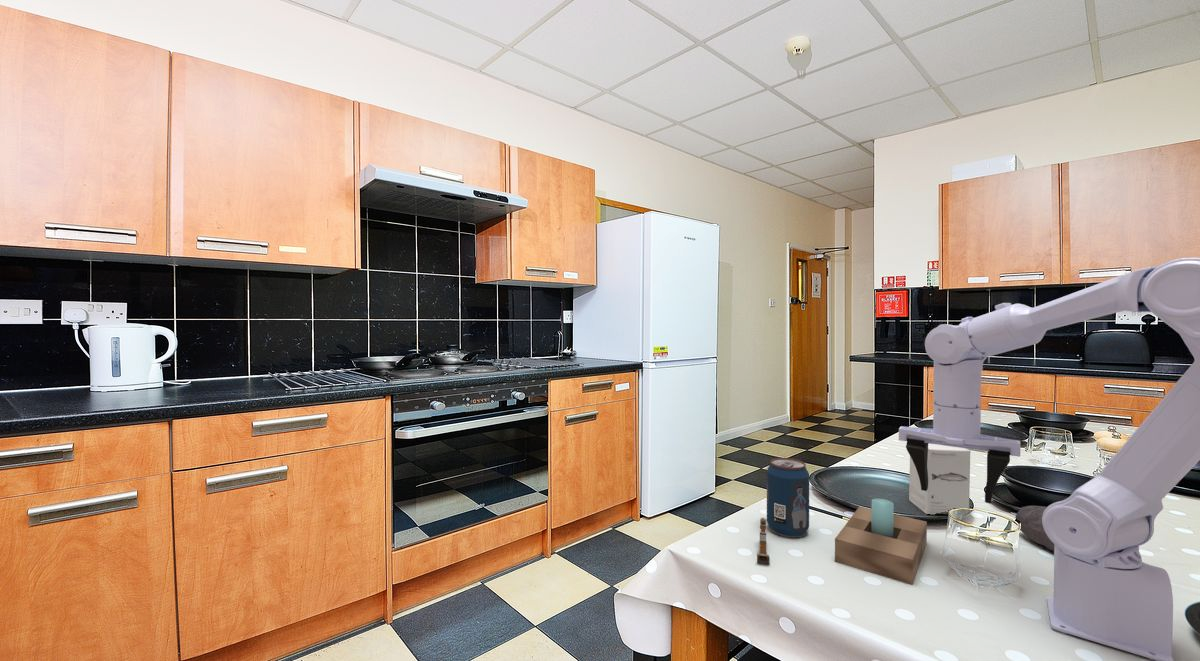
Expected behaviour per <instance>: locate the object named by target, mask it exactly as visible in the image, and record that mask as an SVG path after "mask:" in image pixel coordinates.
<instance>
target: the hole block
mask: <svg viewBox="0 0 1200 661" xmlns="http://www.w3.org/2000/svg"><path fill="white" fill-rule="evenodd" d="M871 521H872V508H868V507H863V506H858V507H857V508H856V510H855V511H854V513H853V514H852V515H851V516H850V518H849V520H847V522H846V524H845V525H844V526H843V528H842V529H841V530H840V531H839V533H838V534H837V536H836V537H835V538H834V562H836V563H839V564H843V565H845V566H849V567H852V568H853V567H854V568H857V569H859V570H862V571H866V572H870V573H872V574H876V575H879V576H881V577H882V576H883V577H886V578H889V579H893V580H896V581H899V582H903V583H906V584H910V585H913V584H914V581H915V578H916V575H917V572H918V569H919V566H920V563H921V561H922V558H923V554H924V551H925V549H926V546H927V544H928V542H927V540H928V539H927V538H928V535H927V534H928V533H927V532H928V530H927V528H928V521H925V520H921V519H918V518H917V519H916V518H913V517H908V516H904V515H903V516H902V515H898V514H896V513H895V514H894V525H893V538H890V537H886V536H882V535H879V534H875V533H871Z"/></svg>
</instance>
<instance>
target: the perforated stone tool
mask: <svg viewBox="0 0 1200 661" xmlns="http://www.w3.org/2000/svg"><path fill="white" fill-rule="evenodd" d="M1047 507H1048V506H1041V505H1026V506H1022V507H1020V508H1019V509H1018V511H1017V513H1016V515H1015V519H1017V520H1019V521H1020V523H1021V530H1020V531H1021V532H1022V534H1024V535H1025V536H1026V537H1027V538H1028V539H1030V540H1031V541H1032V542H1034V543H1036V544H1038V545H1041V546H1044V547H1045V548H1046V549H1047V550H1048V551H1050V552H1052V553H1054V545H1055V544H1054V543H1053V542H1052V541H1051V540H1050V539H1049V537H1048V536H1047V534H1046V532H1045V530H1044V528H1043V524H1042V516H1043V513H1044V510H1045V509H1046V508H1047Z"/></svg>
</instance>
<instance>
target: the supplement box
mask: <svg viewBox="0 0 1200 661" xmlns="http://www.w3.org/2000/svg"><path fill="white" fill-rule="evenodd" d="M927 469H928V489H927V491H923V490H921V484H920V479H919V476H918V473H917V470H916V467H915V465H914V463H913V460H912V458H911V456H910V455H909V485H908V486H909V492H908V493H909V494H908V497H909V499H908V500H909V502H910V503H911V504H913V505H914V506H915V507H916V508H918V509H919V510H920V511H922V512H923V513H924V514H926V515H927V514H930V515H935V514H936V513H941V512H945V511H946V512H948V510H950V509H953V508H969V509H970V491H971V490H970V482H971V481H970V480H971V478H970V477H971V476H970V475H971V449H967V448H959V447H952V446H945V445H937V444H930V443H928V460H927Z"/></svg>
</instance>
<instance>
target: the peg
mask: <svg viewBox="0 0 1200 661" xmlns="http://www.w3.org/2000/svg"><path fill="white" fill-rule="evenodd" d="M894 505H895V504H894V502H892V501H891V500H888V499H885V498H873V499H871V509H872V521H871V533H875V534H879V535H882V536H886V537H890V538H893V525H894V512H895V511H894V510H895V506H894Z"/></svg>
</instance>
